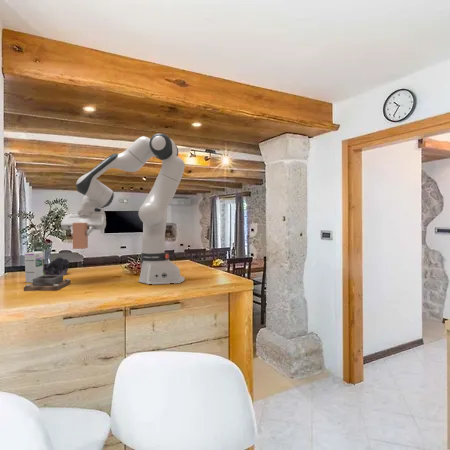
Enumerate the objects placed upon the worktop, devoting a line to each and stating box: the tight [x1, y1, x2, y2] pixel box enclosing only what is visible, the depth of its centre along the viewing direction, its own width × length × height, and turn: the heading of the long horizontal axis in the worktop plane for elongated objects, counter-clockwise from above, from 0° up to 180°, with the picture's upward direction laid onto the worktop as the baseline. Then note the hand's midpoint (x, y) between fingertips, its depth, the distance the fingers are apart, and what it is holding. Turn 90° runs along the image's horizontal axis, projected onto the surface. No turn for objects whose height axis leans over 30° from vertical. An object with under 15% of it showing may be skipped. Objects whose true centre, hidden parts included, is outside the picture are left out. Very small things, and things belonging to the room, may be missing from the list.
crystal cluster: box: [44, 257, 70, 276], centre depth 173 cm, size 13×14×10 cm
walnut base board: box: [23, 275, 72, 292], centre depth 144 cm, size 14×14×4 cm
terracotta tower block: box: [72, 223, 89, 250], centre depth 150 cm, size 5×5×12 cm
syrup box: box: [24, 250, 45, 284], centre depth 155 cm, size 6×6×14 cm
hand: (79, 234), depth 149 cm, fingers closed on terracotta tower block, 5 cm apart
